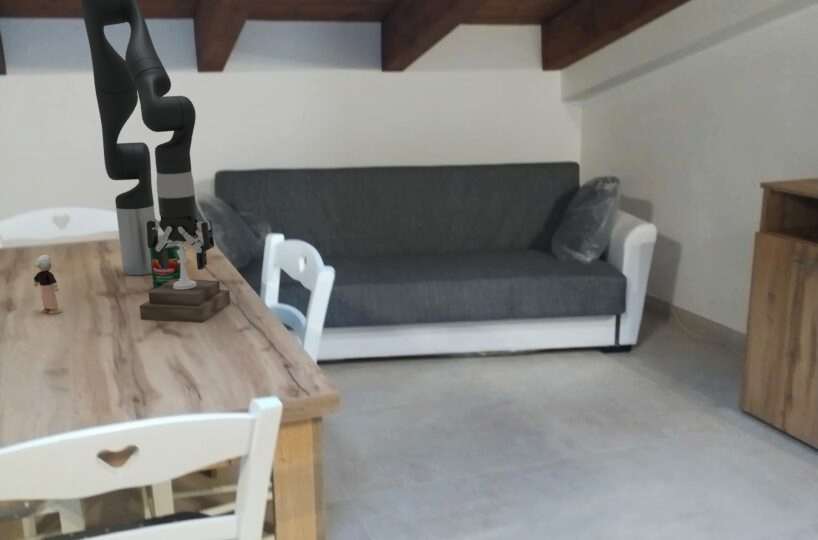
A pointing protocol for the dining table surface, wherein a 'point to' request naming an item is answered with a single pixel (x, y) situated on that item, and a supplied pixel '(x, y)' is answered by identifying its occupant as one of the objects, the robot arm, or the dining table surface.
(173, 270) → the canned tomato
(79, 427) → the dining table surface
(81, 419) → the dining table surface
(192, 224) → the robot arm
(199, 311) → the walnut pedestal
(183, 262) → the chess piece
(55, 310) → the grandmother figurine
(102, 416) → the dining table surface
